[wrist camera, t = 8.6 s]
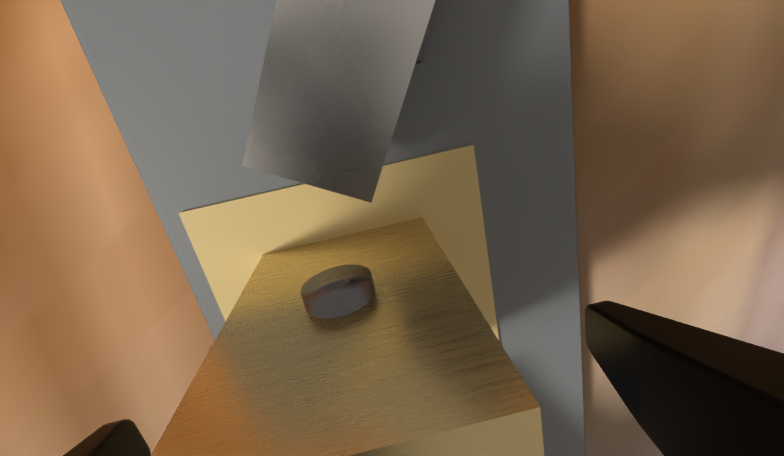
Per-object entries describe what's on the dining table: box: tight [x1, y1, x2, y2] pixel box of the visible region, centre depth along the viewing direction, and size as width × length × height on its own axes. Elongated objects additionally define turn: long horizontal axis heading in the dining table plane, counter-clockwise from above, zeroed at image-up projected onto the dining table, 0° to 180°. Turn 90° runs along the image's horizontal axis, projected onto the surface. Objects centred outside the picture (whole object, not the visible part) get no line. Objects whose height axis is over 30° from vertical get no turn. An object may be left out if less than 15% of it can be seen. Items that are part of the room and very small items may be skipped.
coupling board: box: [60, 0, 585, 456], centre depth 10 cm, size 18×10×1 cm, turn 12°
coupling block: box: [151, 217, 544, 456], centre depth 7 cm, size 5×4×6 cm
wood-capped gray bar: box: [242, 0, 443, 203], centre depth 8 cm, size 18×4×3 cm, turn 12°
